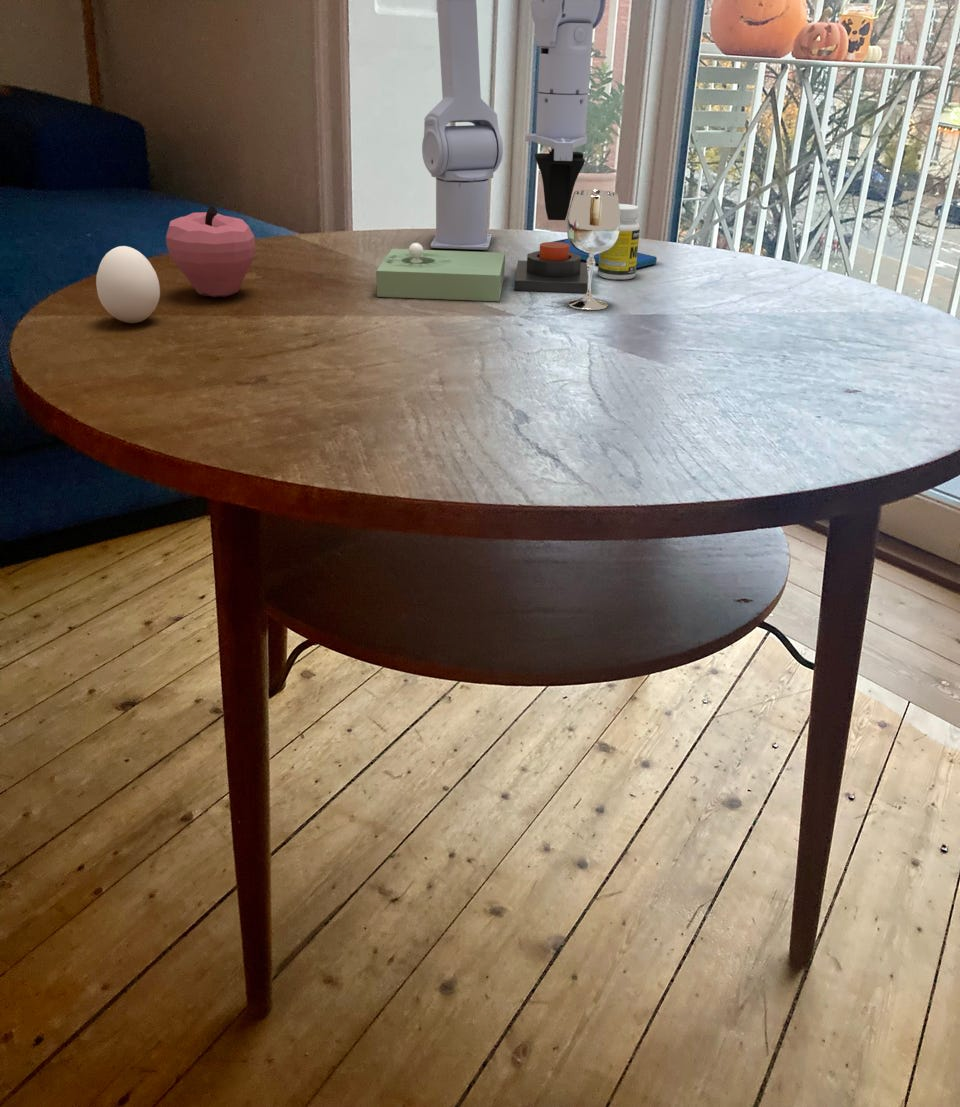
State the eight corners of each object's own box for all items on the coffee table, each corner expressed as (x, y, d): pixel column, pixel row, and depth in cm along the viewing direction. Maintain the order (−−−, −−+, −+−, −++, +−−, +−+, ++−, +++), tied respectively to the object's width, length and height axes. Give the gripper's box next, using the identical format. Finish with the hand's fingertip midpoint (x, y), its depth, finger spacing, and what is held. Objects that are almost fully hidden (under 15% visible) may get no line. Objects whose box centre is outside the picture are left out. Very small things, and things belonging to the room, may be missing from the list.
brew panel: (517, 269, 127) (518, 245, 125) (588, 272, 126) (590, 248, 125) (514, 290, 117) (515, 264, 116) (590, 293, 117) (592, 267, 115)
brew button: (539, 255, 122) (540, 241, 121) (568, 257, 122) (569, 242, 121) (538, 262, 119) (539, 247, 118) (568, 263, 119) (569, 248, 118)
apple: (273, 292, 114) (266, 201, 109) (228, 309, 107) (218, 212, 102) (205, 282, 117) (195, 193, 113) (157, 298, 110) (144, 204, 106)
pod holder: (392, 273, 123) (391, 248, 122) (504, 277, 123) (505, 252, 121) (376, 297, 113) (376, 270, 112) (499, 301, 112) (499, 274, 111)
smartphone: (626, 265, 126) (538, 244, 135) (625, 273, 127) (537, 251, 136) (660, 257, 131) (572, 237, 140) (659, 264, 131) (572, 244, 140)
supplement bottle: (633, 281, 122) (640, 210, 118) (595, 279, 123) (601, 208, 119) (636, 273, 126) (643, 204, 122) (599, 270, 127) (604, 202, 123)
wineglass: (579, 313, 108) (587, 198, 103) (552, 301, 113) (558, 190, 107) (623, 308, 111) (633, 195, 105) (594, 296, 115) (603, 187, 109)
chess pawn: (432, 288, 117) (432, 244, 115) (408, 289, 116) (408, 245, 114) (425, 282, 120) (425, 239, 117) (403, 283, 119) (402, 240, 116)
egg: (128, 333, 98) (116, 255, 95) (89, 323, 101) (76, 247, 98) (176, 320, 103) (167, 245, 99) (138, 311, 106) (127, 237, 102)
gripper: (526, 88, 118) (521, 207, 124) (529, 96, 105) (523, 228, 112) (585, 89, 118) (577, 208, 124) (595, 98, 105) (586, 230, 112)
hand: (556, 218), depth 118 cm, fingers closed
